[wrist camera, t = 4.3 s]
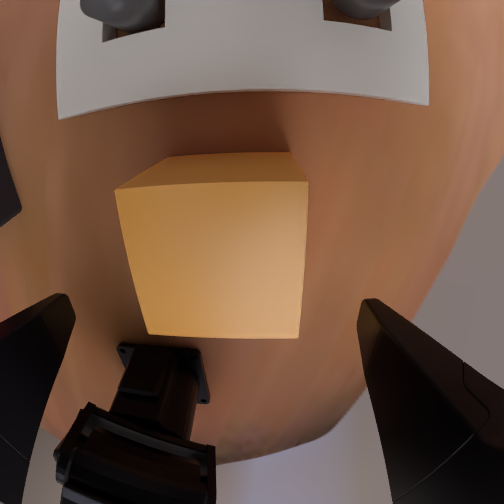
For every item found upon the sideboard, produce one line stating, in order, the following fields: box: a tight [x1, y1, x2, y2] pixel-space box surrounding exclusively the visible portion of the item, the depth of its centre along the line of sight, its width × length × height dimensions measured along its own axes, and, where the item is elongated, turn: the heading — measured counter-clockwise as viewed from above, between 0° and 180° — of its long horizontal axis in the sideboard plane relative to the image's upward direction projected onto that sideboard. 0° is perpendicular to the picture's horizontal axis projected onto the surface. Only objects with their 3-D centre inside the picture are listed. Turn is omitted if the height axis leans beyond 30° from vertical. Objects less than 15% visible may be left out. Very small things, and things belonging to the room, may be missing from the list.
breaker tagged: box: [80, 0, 165, 34], centre depth 8 cm, size 3×3×4 cm
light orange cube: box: [114, 152, 309, 339], centre depth 12 cm, size 6×6×6 cm
